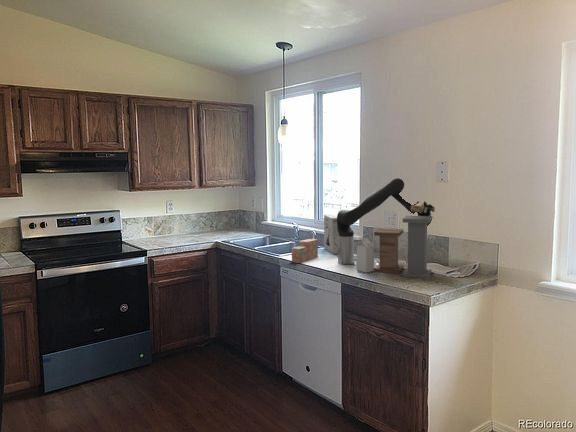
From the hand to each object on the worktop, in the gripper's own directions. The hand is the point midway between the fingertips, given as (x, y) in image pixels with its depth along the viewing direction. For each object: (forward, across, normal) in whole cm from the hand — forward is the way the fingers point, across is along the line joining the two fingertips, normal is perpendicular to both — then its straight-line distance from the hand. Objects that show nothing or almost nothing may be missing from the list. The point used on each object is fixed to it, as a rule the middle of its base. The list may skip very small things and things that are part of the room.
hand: (421, 202), depth 265 cm
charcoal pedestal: (-8, 0, +40) cm, 41 cm away
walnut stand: (-13, -17, +37) cm, 43 cm away
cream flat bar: (+4, 0, +6) cm, 7 cm away
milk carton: (-7, -29, +41) cm, 51 cm away
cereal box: (-50, -65, +16) cm, 84 cm away
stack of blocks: (-23, -74, +32) cm, 84 cm away
